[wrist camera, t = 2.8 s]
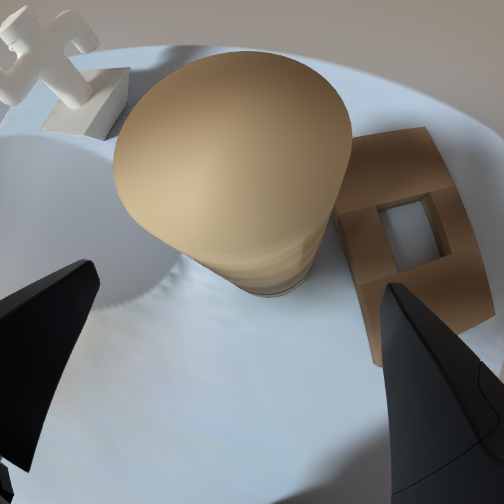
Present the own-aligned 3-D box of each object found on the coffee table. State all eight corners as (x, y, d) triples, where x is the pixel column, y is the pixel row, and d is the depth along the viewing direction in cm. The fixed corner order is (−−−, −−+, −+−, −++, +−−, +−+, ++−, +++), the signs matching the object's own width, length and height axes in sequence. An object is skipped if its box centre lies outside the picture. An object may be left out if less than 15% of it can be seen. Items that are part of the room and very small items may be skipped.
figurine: (152, 84, 23) (80, -36, 9) (100, 168, 22) (-21, 59, 7) (102, 84, 24) (31, -8, 10) (56, 157, 23) (-45, 76, 8)
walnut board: (483, 315, 15) (495, 315, 14) (373, 363, 16) (380, 367, 14) (418, 137, 18) (425, 126, 17) (311, 157, 19) (312, 146, 18)
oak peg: (321, 287, 17) (394, 208, 5) (240, 308, 18) (120, 282, 5) (299, 210, 18) (302, 35, 6) (222, 230, 19) (115, 92, 6)
